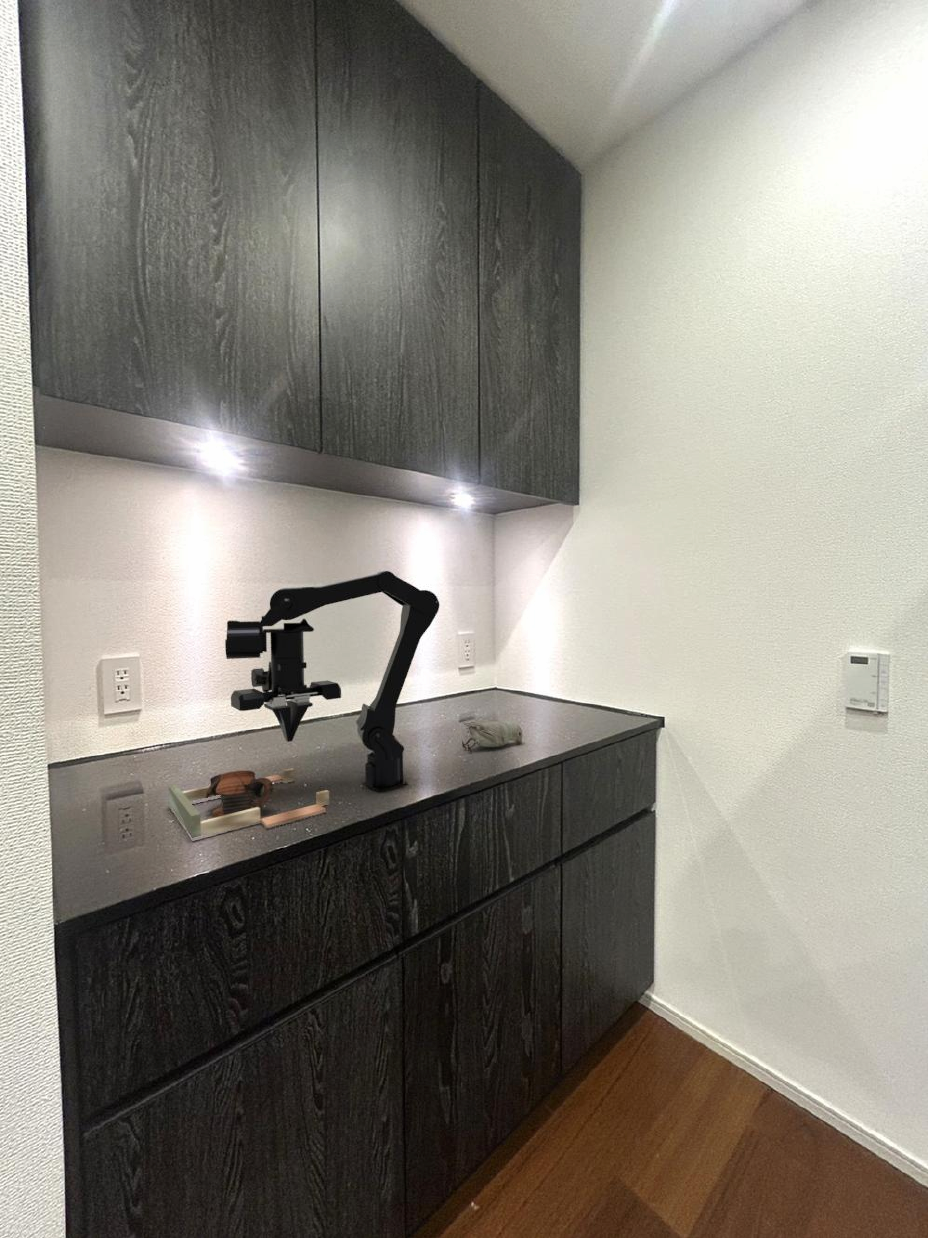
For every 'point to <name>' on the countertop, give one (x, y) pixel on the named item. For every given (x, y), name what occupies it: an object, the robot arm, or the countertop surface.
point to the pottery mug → (239, 791)
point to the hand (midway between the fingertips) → (289, 741)
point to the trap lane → (197, 828)
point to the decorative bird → (493, 733)
